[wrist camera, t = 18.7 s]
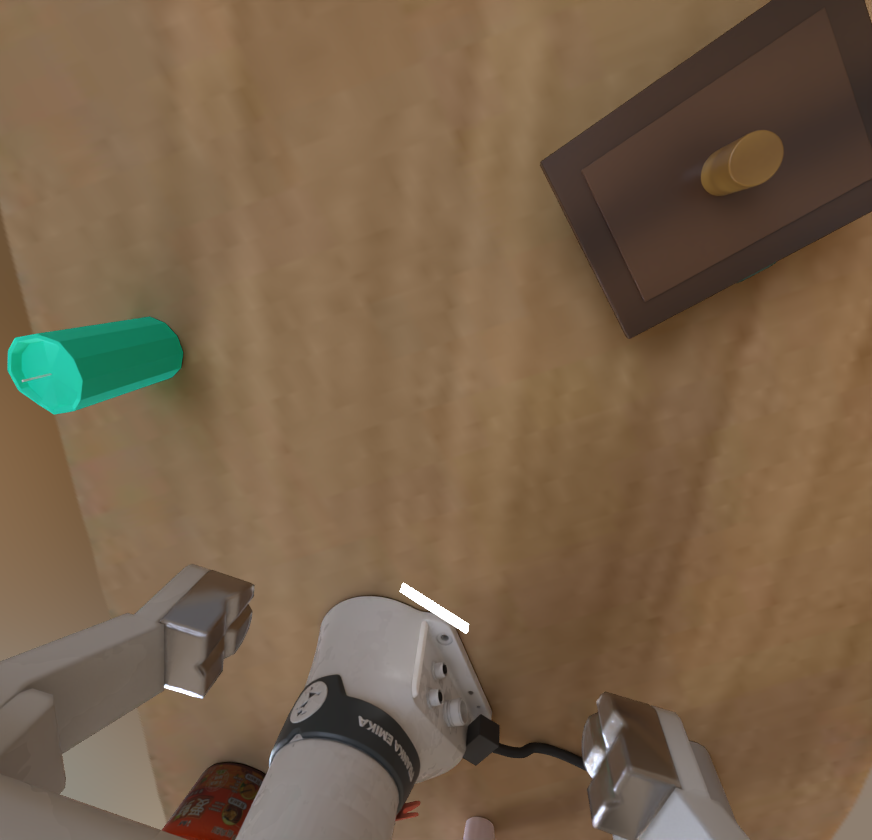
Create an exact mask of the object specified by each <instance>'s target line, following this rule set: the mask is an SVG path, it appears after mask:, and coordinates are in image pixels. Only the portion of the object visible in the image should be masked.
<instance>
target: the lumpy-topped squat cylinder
mask: <svg viewBox="0 0 872 840" xmlns="http://www.w3.org/2000/svg"><path fill="white" fill-rule="evenodd" d="M689 742H690V745H691V747H692V750H693V753H694V755H695V758H696V761H697V763H698V766H699V768H700V771H701V774H702V776H703V779H704V781H705V784H706V787H707V789H708V792H709V795H710V797H711V799H713V800H716V801H718V802H720V804H721V805H722V806H723V807H724V808H725V810H726V811H727V812H728V813H729V814H730V816H731V817H732V818H733V819H734V820H735V817H734V815H733V812H732V810H731V807H730V805H729V802H728V800H727V797H726V795H725V792H724V790H723V787H722V785H721V782H720V780H719V777H718V775H717V772H716V770H715V767H714V765H713V763H712V760H711V758H710V755H709V753H708V751H707V750H706V749H705V748H704V747H703V746H702V745H700V744H698V743H695V742H692V741H689ZM735 822H736V820H735ZM736 823H737V822H736ZM613 839H614V840H627V839H624V838H621V837H619V836H616V835H613Z"/></svg>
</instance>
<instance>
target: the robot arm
mask: <svg viewBox="0 0 872 840" xmlns="http://www.w3.org/2000/svg"><path fill="white" fill-rule="evenodd" d="M400 592H401V593H402V594H404V595H406V596H407V597H409V598H410V599H412V600H414V601H415V602H417V603H418V604H420V605H421V606H423V607H425V608H426V609H428V610H429V611H431V612H433V613H429V612H422V611H419V610H416V609H414V608H412V607H410V606H408V605H406V604H403V603H401V602H398V601H396V600H392V599H389V598H384V597H377V596H362V597H355V598H351V599H348V600H345V601H343V602H341V603H339V604H337V605H336V606H334V607H333V608H332V609H331V610H330V611H329V612H328V613H327V614H326V616H325V617H324V619H323V621H322V624H321V627H320V633H319V640H318V645H317V649H316V653H315V657H314V660H313V664H312V667H311V670H310V673H309V676H308V679H307V682H306V685H305V688H304V690H303V691H302V693H301V694H300V696H299V697H298V699H297V701H296V702H295V704H294V706H293V708H292V709H291V711H290V713H289V715H288V717H287V719H286V721H285V724H284V726H283V728H282V730H281V732H280V734H279V736H278V739H277V741H276V743H275V745H274V748H273V750H272V752H271V754H270V758H269V770H268V772H267V774H266V776H265V778H264V780H263V782H262V784H261V786H260V789H259V791H258V793H257V795H256V797H255V799H254V801H253V803H252V805H251V808H250V810H249V812H248V814H247V816H246V818H245V820H244V822H243V825H242V827H241V829H240V831H239V833H238V835H237V837H236V839H235V840H392V835H393V829H394V825H395V821H398V820H403V819H407V818H412V817H416V816H418V813H416V812H414V813H407V812H408V811H412V810H413V809H415V808H416V807H418V806H419V805H420V801H414V802H410V803H405V802H406V800H407V798H408V796H409V794H410V792H411V790H412V788H413V786H414V784H417V783H420V782H423V781H426V780H428V779H431V778H434V777H436V776H439V775H441V774H444V773H446V772H447V771H449V770H451V769H452V768H454V767H455V766H456V765H457V764H458V763H459V762H460V761H461V759H462V758H464V759H466V760H467V761H469V762H471V763H472V764H474V765H477V764H479V763H480V762H481V761H482V760H483V759H484V758H486V757H487V756H488V755H489V754H490V753H492V752H493V753H497V754H500V755H503V756H507V757H511V758H525V757H527V756H529V755H530V754H532V753H542V754H547V755H550V756H554V757H556V758H559V759H562V760H564V761H566V762H569V763H571V764H573V765H575V766H577V767H579V768H581V769H583V770H586V771H588V773H589V774H590V776H591V777H592V779H593V780H592V781H591V783H590V785H589V787H588V788H587V791H588V798H589V804H590V811H591V817H592V824H593V827H594V828H596V829H599V830H602V831H605V832H607V833H610V834H613V835H616V836H619V837H621V838H624V839H627V840H750V838H749V837H748V836H747V835H746V834H745V832H744V831H743V830H742V829H741V828H740V826H739V825H738V824H737V823H736V822H735V820H734V819H733V818H732V817H731V816H730V814H729V813H728V812H727V811H726V810H725V808H724V807H723V806H722V805H721V804H720V802H718V801H716V800H713V799H711V797H710V795H709V792H708V789H707V787H706V784H705V781H704V779H703V776H702V774H701V771H700V768H699V766H698V763H697V761H696V758H695V755H694V753H693V750H692V747H691V745H690V742H689V740H688V737H687V734H686V732H685V729H684V727H683V724H682V721H681V719H680V717H679V716H678V715H677V714H676V713H675V712H672V711H669V710H665V709H662V708H659V707H655V706H650V705H649V704H646V703H643V702H639V701H636V700H633V699H629V698H626V697H622V696H619V695H616V694H612V693H609V692H604V693H602V694H601V695H600V697H599V699H598V700H597V702H596V703H597V708H598V712H597V713H595V714H592V715H590V716H589V717H588V719H587V722H586V724H585V726H584V730H583V736H582V757H583V758H581V757H579V756H577V755H574V754H572V753H570V752H568V751H565V750H563V749H560V748H557V747H554V746H551V745H548V744H543V743H536V742H533V743H528V744H526V745H525V746H523V747H511V746H507V745H504V744H500V743H499V725H498V724H496V723H495V722H493V721H492V720H491V717H492V711H491V708H490V706H489V703H488V701H487V699H486V696H485V694H484V692H483V690H482V687H481V685H480V683H479V680H478V678H477V676H476V674H475V671H474V669H473V667H472V665H471V662H470V660H469V658H468V655H467V653H466V651H465V649H464V646H463V644H462V642H461V639H460V637H459V635H458V633H457V630H456V628H458V629H459V630H461V631H463V632H464V633H467V632H468V628H469V624H468V623H466V622H465V621H463V620H462V619H460V618H459V617H457V616H455V615H454V614H452V613H451V612H449V611H447V610H446V609H444V608H443V607H441V606H440V605H438V604H436V603H435V602H433V601H432V600H430V599H429V598H427V597H425V596H424V595H422V594H421V593H419V592H417V591H416V590H414V589H413V588H411V587H410V586H408V585H406V584H405V583H403V584H402V586H401V589H400ZM253 597H254V585H253V584H252V583H249V582H246V581H244V580H241V579H238V578H235V577H232V576H229V575H226V574H223V573H220V572H217V571H214V570H210V569H207V568H204V567H201V566H198V565H195V564H191V565H189V566H186V567H185V568H183V569H182V570H181V571H180V572H179V573H178V574H177V575H176V576H175V577H174V578H173V579H172V580H171V581H169V582H168V583H167V584H166V585H165V586H164V587H163V588H162V589H161V590H160V591H159V592H158V593H157V594H156V595H155V596H153V597H152V598H151V599H150V600H149V601H148V602H147V603H146V604H145V605H144V606H143V607H142V608H141V609H140V610H138V611H137V612H136V613H135V614H134V615H133V614H130V613H126V614H123V615H121V616H118V617H116V618H113V619H110V620H108V621H105V622H103V623H100V624H97V625H94V626H92V627H90V628H87V629H84V630H81V631H79V632H76V633H73V634H71V635H68V636H66V637H63V638H60V639H58V640H55V641H52V642H50V643H48V644H45V645H42V646H39V647H37V648H34V649H31V650H29V651H26V652H24V653H21V654H18V655H16V656H13V657H10V658H8V659H5V660H2V661H0V840H187V839H185V838H182V837H179V836H176V835H173V834H170V833H168V832H165V831H162V830H159V829H156V828H153V827H151V826H148V825H145V824H142V823H139V822H136V821H133V820H131V819H128V818H125V817H122V816H119V815H117V814H114V813H111V812H108V811H105V810H102V809H99V808H96V807H94V806H91V805H88V804H85V803H83V802H80V801H77V800H74V799H71V798H68V797H66V796H63V795H60V793H61V792H62V791H63V790H64V788H65V782H66V777H65V770H64V764H63V757H62V754H63V753H64V752H66V751H68V750H69V749H71V748H72V747H74V746H76V745H77V744H79V743H80V742H82V741H84V740H85V739H87V738H88V737H90V736H92V735H93V734H95V733H96V732H98V731H100V730H101V729H103V728H105V727H106V726H108V725H109V724H111V723H113V722H114V721H116V720H117V719H119V718H121V717H122V716H124V715H125V714H127V713H128V712H130V711H132V710H133V709H135V708H137V707H138V706H140V705H141V704H143V703H145V702H146V701H148V700H149V699H151V698H153V697H154V696H156V695H157V694H159V693H161V692H162V691H164V688H168V689H171V690H175V691H178V692H181V693H185V694H188V695H192V696H195V697H199V698H202V699H203V698H204V696H205V695H206V694H207V692H208V691H209V689H210V688H211V687H212V685H213V684H214V682H215V681H216V679H217V678H218V677H219V675H220V674H221V672H222V671H223V659H225V658H227V657H229V656H231V655H233V654H235V652H236V651H237V649H238V648H239V647H240V645H241V644H242V642H243V640H244V638H245V636H246V634H247V632H248V629H249V626H250V623H251V619H252V609H251V608H250V606H249V604H248V603H249V602H250V601H251V599H252V598H253ZM455 627H456V628H455ZM445 635H447V636H445ZM404 803H405V804H404Z"/></svg>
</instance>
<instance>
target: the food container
mask: <svg viewBox="0 0 872 840" xmlns="http://www.w3.org/2000/svg"><path fill="white" fill-rule="evenodd" d="M265 776H266V775H264V774H263V773H262V772H260V771H257V770H255V769H253V768H251V767H248V766H245V765H242V764H236V763H220V764H215V765H213V766H211V767H209V768H208V769H206V770H205V771H204V773H203V774H202V775H201V777H200V778H199V779H198V781H197V782H196V784H195V785H194V786H193V788H192V789H191V791H190V792H189V793H188V795H187V796H186V798H185V799H184V800H183V802H182V803H181V804H180V806H179V807H178V809H177V810H176V811H175V813H174V814H173V815H172V817H171V818H170V820H169V821H168V822H167V824H166V825H165V826H164V828H163V829H162V831H165V832H168V833H170V834H173V835H176V836H179V837H182V838H185V839H187V840H235V839H236V837H237V835H238V833H239V831H240V829H241V827H242V825H243V822H244V820H245V818H246V816H247V814H248V812H249V810H250V808H251V805H252V803H253V801H254V799H255V797H256V795H257V793H258V791H259V789H260V786H261V784H262V782H263V780H264V778H265Z"/></svg>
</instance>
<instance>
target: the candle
mask: <svg viewBox="0 0 872 840" xmlns="http://www.w3.org/2000/svg"><path fill="white" fill-rule="evenodd" d="M182 359H183V350H182V348H181V345H180V342H179V339H178V336H177V335H176V334H175V333H174V332H173V331H172V330H171V329H170V328H169V326H168V325H167V324H166V323H164V322H162V321H159V320H157V319H154V318H152V317H144V318H137V319H131V320H124V321H117V322H111V323H104V324H98V325H91V326H85V327H78V328H71V329H65V330H58V331H52V332H45V333H39V334H33V335H27V336H21V337H16V338H15V339H14V341H13V342H12V344H11V346H10V348H9V350H8V372H9V374H10V376H11V378H12V380H13V381H14V383H15V385H16V387H17V389H18V390H19V391H20V392H21V393H23V394H24V395H26V396H27V397H28V398H30V399H31V400H33V401H34V402H36V403H37V404H38V405H40V406H41V407H43V408H45V409H46V410H48V411H50V412H51V413H53V414H60V413H66V412H72V411H76V410H79V409H82V408H85V407H87V406H90V405H93V404H96V403H99V402H102V401H105V400H108V399H111V398H114V397H117V396H120V395H122V394H125V393H128V392H131V391H134V390H137V389H140V388H143V387H146V386H149V385H152V384H155V383H157V382H160V381H163V380H166V379H169V378H172V377H173V376H174V375H175V374H176V373H177V372H178V371H179V370H180V369H181V366H182Z"/></svg>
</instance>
